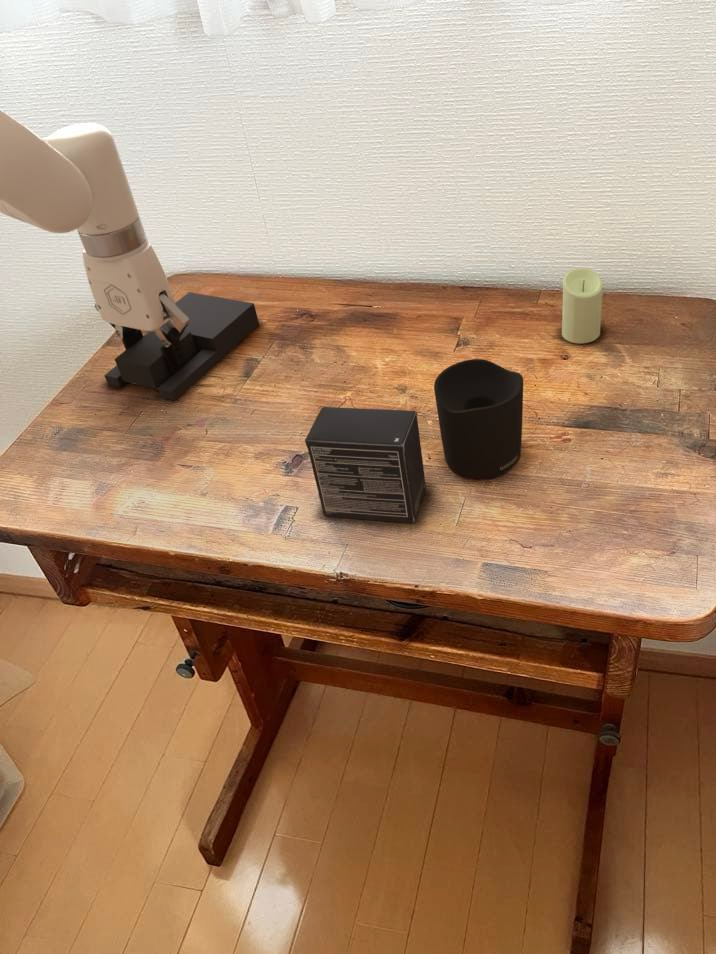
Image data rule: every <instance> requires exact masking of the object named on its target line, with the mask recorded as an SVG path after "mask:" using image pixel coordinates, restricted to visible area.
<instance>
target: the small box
mask: <svg viewBox="0 0 716 954" xmlns="http://www.w3.org/2000/svg"><path fill="white" fill-rule="evenodd" d="M418 421H419V420H418V412H417V411H416V410H409V409H408V410H407V409H406V410H405V409H384V408H362V407H359V408H358V407H335V406H322V407H321V408H320V410H319V412H318V414H317V416H316V418H315V420H314V422H313V423H312V425H311V427H310V429H309V431H308V433H307V435H306V438H305V439H304V442H305V445H306V448H307V452H308V455H309V459H310V463H311V468H312V471H313V476H314V477H313V478H314V481H315V484H316V489H317V493H318V498H319V501H320V505H321V512H322V515H323V517H333V518H345V519H355V520H356V519H358V520H369V521H382V522H383V521H384V522H394V523H396V522H397V523H408V524H414V523H416V521H417V519H418V514H419V510H420V508H421V505H422V502H423V498H424V497H425V493H426V489H427V484H426V477H425V471H424V470H425V469H424V461H423V454H422V445H421V437H420V429H419V422H418Z"/></svg>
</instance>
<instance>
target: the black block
mask: <svg viewBox="0 0 716 954" xmlns="http://www.w3.org/2000/svg"><path fill="white" fill-rule="evenodd" d="M162 328H163V330H164V332H165V333H166V335H167V333H168V332H169V329H168V328H167V327H162ZM179 339H180V342H181V345H182V348H183V351H184V354H185V357H186V363H187V362H188V361H190V360H191V359H192V358H193V357H194V356H195V355H197V351H196V347H195V344H194V341H193V338H192V335H191V332H187V331H184V332H183V333H182V337H180V338H179ZM161 346H163V344H162V343H161V341H160V340H159V338H158V337H157V335H156V334H155V332H149V331H147V333H145V335H143V337H142V338H141V339H140V340H138V341H137V342H136V343H134V344H133V345H132V346H131V347H129V348H128V349H127V350H126V349H125V350H124V351H123V352H121V353H120V354H119V355H117V356H116V357H115V358H114V361H115V365H117V367H118V369H119V372H120V374H121V377H122V379H123V381H125V382H126V383H130V384H134V385H138V386H142V387H147V388H150V389H155V390H158V387H160V386H161V385H162V384H163V383H164V382H165V381H167V380H168V379H169V378H170V377H171V376H172V375H173V374H175V373H176V372H177V371H178V370H179V369H180V368H182V367H183V366H184V365H185V364H186V363H185V364H184V365H182V366H181V367H180V368H179V369H178V370H177V371H175V372H174V373H171V372H169V371H168V368H167V365H166V362H165V359H164V357H163V355H162V352H161V348H160V347H161Z"/></svg>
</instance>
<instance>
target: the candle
mask: <svg viewBox="0 0 716 954" xmlns="http://www.w3.org/2000/svg"><path fill="white" fill-rule="evenodd" d="M603 290H604V281H603V279H602V277H601V276H600V275H599V273H597V272H596V271H594V270H593V269H590V268H587V267H577V268H573V269H570V271H568V272H566V273H565V275H564V276H563V280H562V311H561V313H562V314H561V336H562V338H563V339H564V340H566V341H567V342H570V343H573V344H577V345H578V344H579V345H581V344H583V345H584V344H589V343H591V342H594V341H595V340H597V339H598V338H599V337H600V336H601V324H602V323H601V322H602V307H603V294H604V292H603Z"/></svg>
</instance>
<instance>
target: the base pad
mask: <svg viewBox="0 0 716 954" xmlns="http://www.w3.org/2000/svg"><path fill="white" fill-rule="evenodd" d="M175 303H176V306H177V307H178V308H179V309H180V310H181V311H182V312H183V313H184V314H185V315H186V316H187V317H188V318H189V320H190V323H189V324H188V326H187V327H186V328H185V330H184V331H187V332H191V335H192V338H193V341H194V344H195V347H196V351H197V355H195V356H194V357H193V358H192V359H191V360H190V361H188V362H187V363H186V364H185V365H184V366H183V367H182V368H180V369H179V370H178V371H177V372H176V373H175V374H173V375H172V376H171V377H170V378H169V379H168V380H167V381H165V382H164V383H163V384H162V385H161V386H160V387H158V388H157V390H158V392H159V395H160V397H161V398H162V399H167V400H171V401H176V400H177V399H179V398H180V397H181V396H182V395H183V394H184V393H185V392H186V391H187V390H189V388H191V387H192V386H193V385H194V384H195V383H196V382H198V381H199V380H200V379H201V378H202V377H203V376H204V375H205V374H206V373H208V371H210V370H211V369H212V368H213V367H214V366H215V365H216V364H217V363H219V362H220V361H221V360H222V359H223V358H224V357H225V356H227V354H228V353H230V352H231V351H232V350H233V349H234V348H235V347H236V346H237V345H238V344H240V343H241V342H243V340H244V339H245V338H247V337H248V336H249V334H251V333H252V332H253V331H254V330H255V329H256V328H257V327H259V325H260V321H259V318H258V314H257V310H256V307H255V303H254V302H249V301H243V300H237V299H231V298H225V297H219V296H215V295H209V294H203V293H197V292H191V291H189V292H187V293H186V294H185V295H184V296H182V297H181V298H180V299H178V300H177V301H175ZM163 327H167V326H166V324H165V325H164V326H163ZM167 328H168V327H167ZM148 332H150V331H148ZM103 376H104V379H105V381H106V383H107V385H109V386H113V387H118V388H122V387H123V386H124V385H126V383H127V382H125V381H123V379H122V377H121V374H120V372H119V369H118V367H117V364H115V366H114V367H113V368H111V369H110V370H109V371H108V372H106V373H105V374H104V375H103Z"/></svg>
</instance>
